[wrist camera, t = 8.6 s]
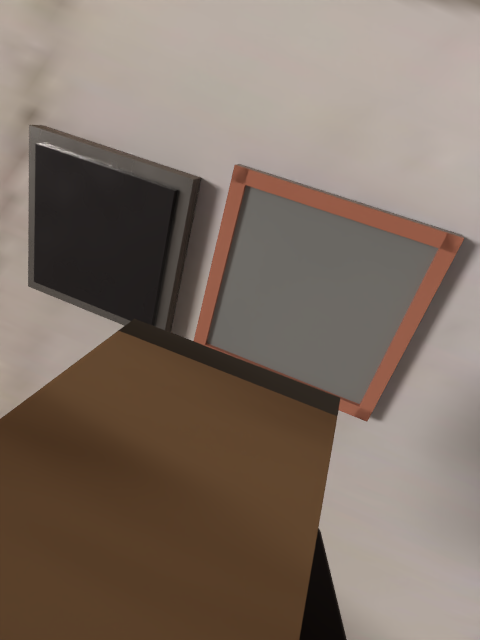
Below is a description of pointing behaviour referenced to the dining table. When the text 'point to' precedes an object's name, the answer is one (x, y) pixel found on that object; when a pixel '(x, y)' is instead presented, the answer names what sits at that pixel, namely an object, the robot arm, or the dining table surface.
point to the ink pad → (107, 228)
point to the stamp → (161, 496)
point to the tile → (319, 285)
